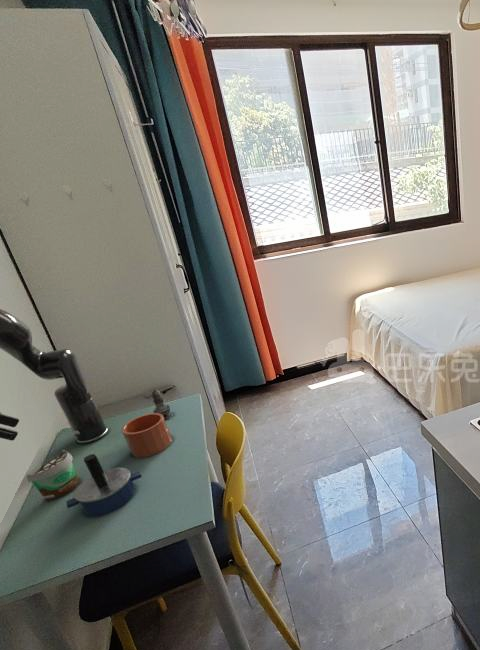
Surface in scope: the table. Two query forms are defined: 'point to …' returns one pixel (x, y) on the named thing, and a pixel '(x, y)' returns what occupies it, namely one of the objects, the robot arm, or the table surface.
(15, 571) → the table surface
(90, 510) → the pan
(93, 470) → the lid
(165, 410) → the grey upright piece
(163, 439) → the pot
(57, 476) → the food container
